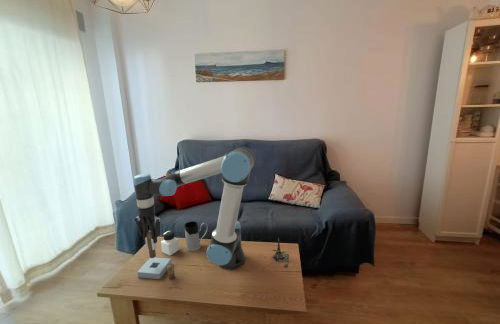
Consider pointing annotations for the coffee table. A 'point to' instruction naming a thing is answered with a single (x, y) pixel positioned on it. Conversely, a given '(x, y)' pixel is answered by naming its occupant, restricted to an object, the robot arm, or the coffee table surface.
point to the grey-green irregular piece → (281, 255)
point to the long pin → (150, 245)
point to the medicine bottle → (169, 243)
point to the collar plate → (152, 272)
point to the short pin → (170, 271)
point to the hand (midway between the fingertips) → (151, 248)
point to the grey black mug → (193, 236)
